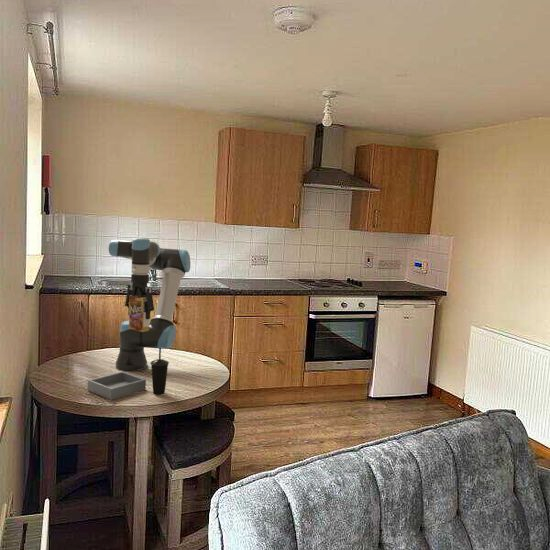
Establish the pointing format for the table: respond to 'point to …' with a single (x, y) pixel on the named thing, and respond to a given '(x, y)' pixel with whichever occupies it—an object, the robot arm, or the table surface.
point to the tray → (116, 385)
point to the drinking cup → (159, 374)
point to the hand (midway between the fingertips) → (138, 324)
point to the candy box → (137, 313)
